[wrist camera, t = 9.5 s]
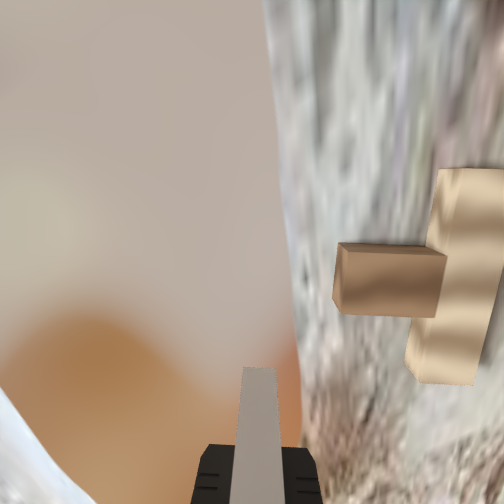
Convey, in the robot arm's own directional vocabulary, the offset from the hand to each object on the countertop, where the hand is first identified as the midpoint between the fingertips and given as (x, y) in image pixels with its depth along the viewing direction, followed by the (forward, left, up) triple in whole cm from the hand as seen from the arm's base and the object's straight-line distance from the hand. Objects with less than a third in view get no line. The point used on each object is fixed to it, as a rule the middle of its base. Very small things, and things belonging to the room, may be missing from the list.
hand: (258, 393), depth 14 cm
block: (+1, +14, -23) cm, 26 cm away
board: (+1, +22, -22) cm, 31 cm away
